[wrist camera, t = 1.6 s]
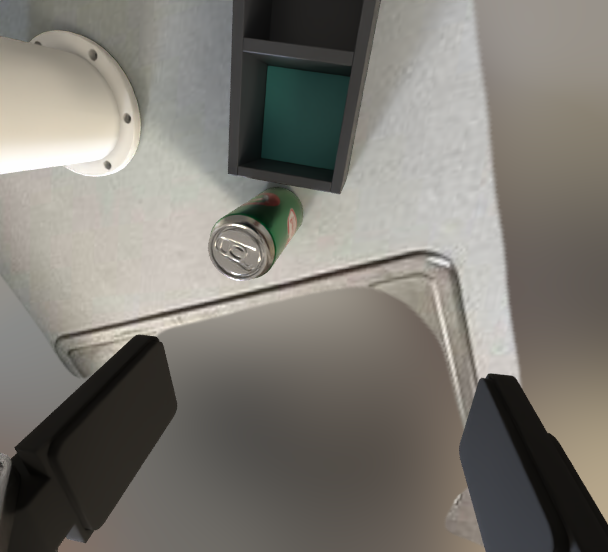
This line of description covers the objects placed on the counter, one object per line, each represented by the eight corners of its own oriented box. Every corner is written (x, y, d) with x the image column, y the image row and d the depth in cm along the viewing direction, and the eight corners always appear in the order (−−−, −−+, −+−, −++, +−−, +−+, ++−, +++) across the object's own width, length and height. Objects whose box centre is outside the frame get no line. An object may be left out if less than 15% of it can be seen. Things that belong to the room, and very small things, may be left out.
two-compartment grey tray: (254, 164, 32) (227, 174, 26) (270, -81, 24) (237, -146, 18) (346, 180, 31) (340, 194, 25) (394, -70, 23) (401, -135, 17)
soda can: (291, 243, 34) (255, 297, 24) (249, 220, 34) (194, 264, 24) (312, 201, 32) (283, 240, 21) (267, 176, 32) (215, 203, 21)
